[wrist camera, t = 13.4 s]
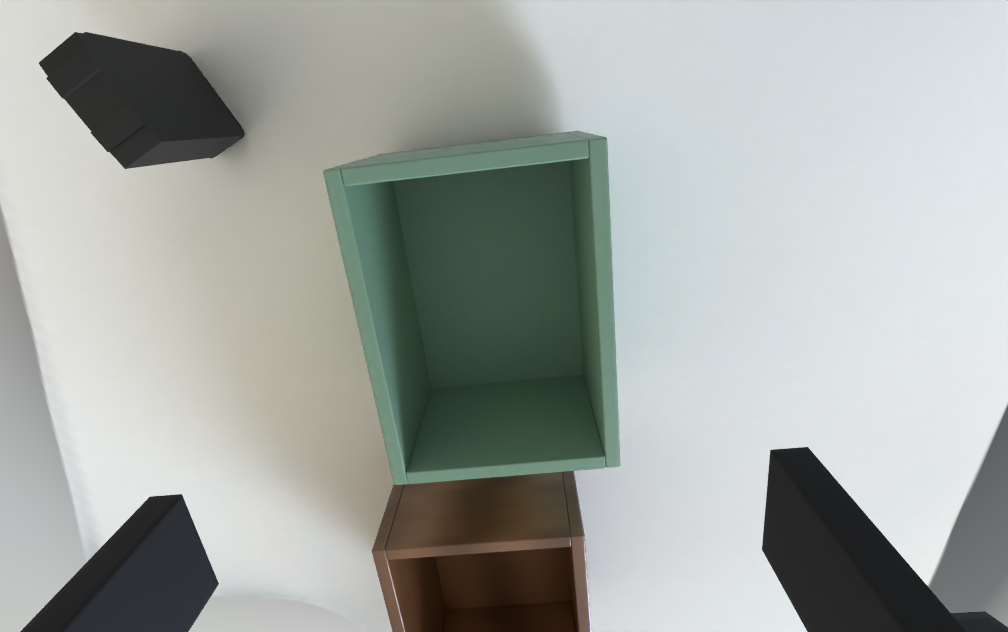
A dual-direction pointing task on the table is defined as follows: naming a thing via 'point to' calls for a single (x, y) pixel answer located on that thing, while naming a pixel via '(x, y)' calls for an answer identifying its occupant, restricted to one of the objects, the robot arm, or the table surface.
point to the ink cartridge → (141, 100)
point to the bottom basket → (485, 556)
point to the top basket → (485, 304)
